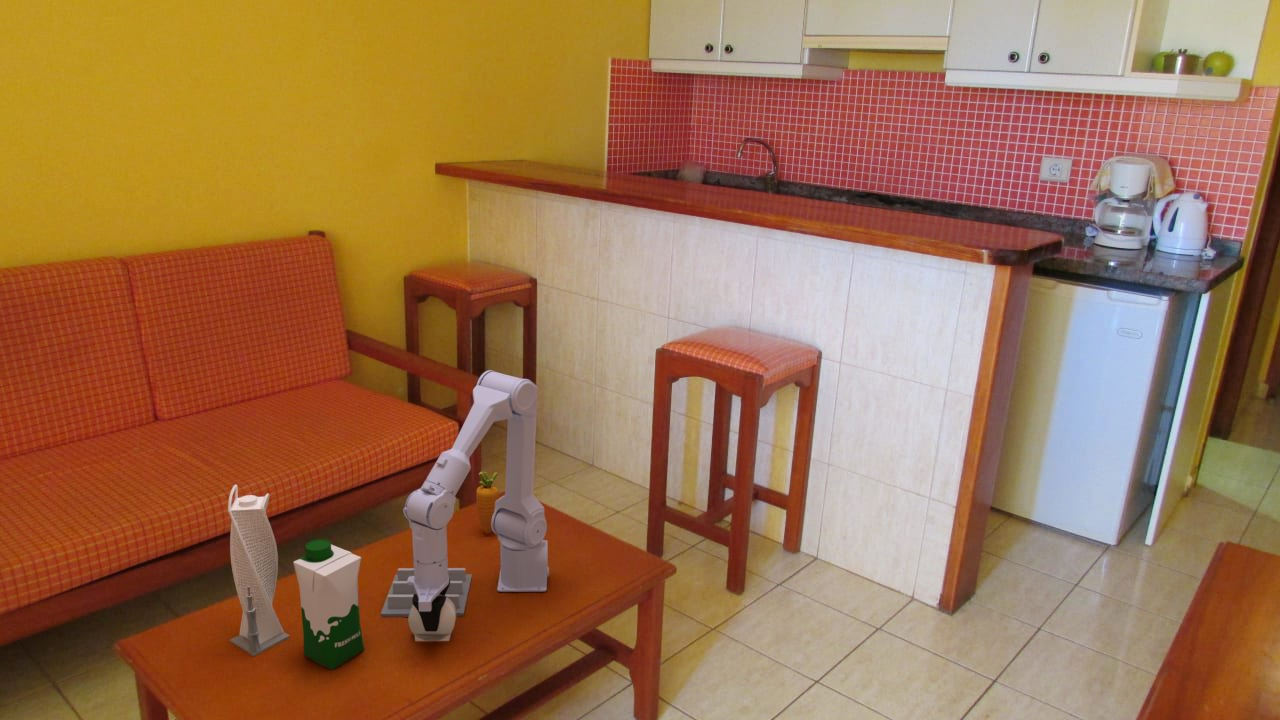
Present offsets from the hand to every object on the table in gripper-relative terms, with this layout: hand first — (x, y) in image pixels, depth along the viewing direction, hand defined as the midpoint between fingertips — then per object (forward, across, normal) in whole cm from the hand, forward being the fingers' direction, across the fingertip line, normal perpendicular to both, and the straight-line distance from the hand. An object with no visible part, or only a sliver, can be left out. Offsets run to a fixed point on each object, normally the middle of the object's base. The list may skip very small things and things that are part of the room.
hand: (432, 625), depth 158 cm
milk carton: (+3, +4, -16) cm, 17 cm away
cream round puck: (+2, 0, 0) cm, 2 cm away
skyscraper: (+3, 0, -30) cm, 30 cm away
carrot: (+3, -38, +6) cm, 39 cm away
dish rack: (+2, -14, -3) cm, 14 cm away
